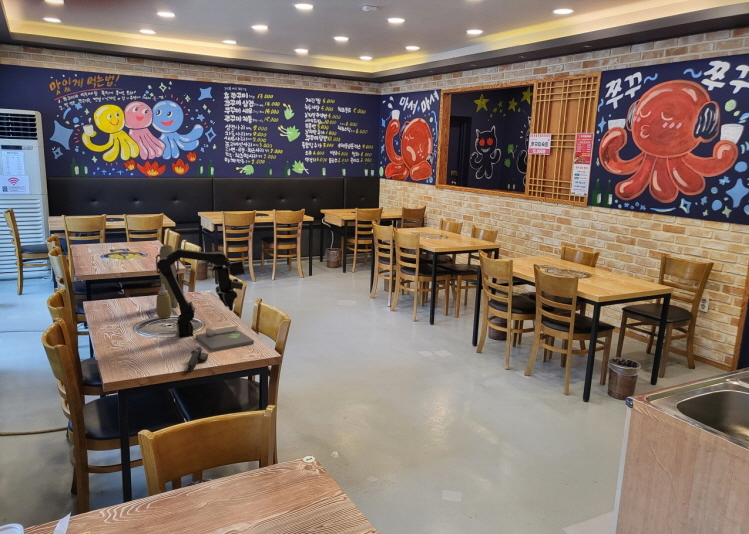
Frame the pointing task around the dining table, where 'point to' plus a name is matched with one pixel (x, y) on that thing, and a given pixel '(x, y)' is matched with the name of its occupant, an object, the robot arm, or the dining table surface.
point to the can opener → (196, 358)
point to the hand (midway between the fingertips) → (229, 308)
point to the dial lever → (220, 330)
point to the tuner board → (224, 340)
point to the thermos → (163, 253)
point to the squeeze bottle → (163, 303)
